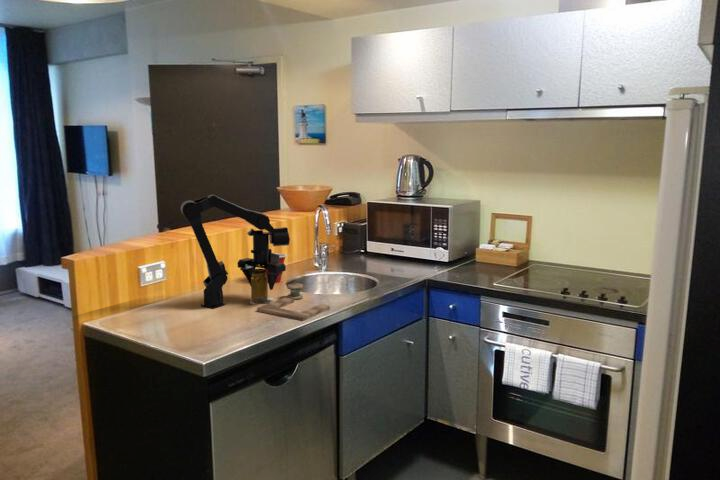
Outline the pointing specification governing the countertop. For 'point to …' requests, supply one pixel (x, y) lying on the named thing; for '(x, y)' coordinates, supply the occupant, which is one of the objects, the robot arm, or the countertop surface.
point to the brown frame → (276, 310)
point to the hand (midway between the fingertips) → (261, 288)
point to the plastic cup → (281, 260)
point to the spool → (295, 291)
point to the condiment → (259, 287)
